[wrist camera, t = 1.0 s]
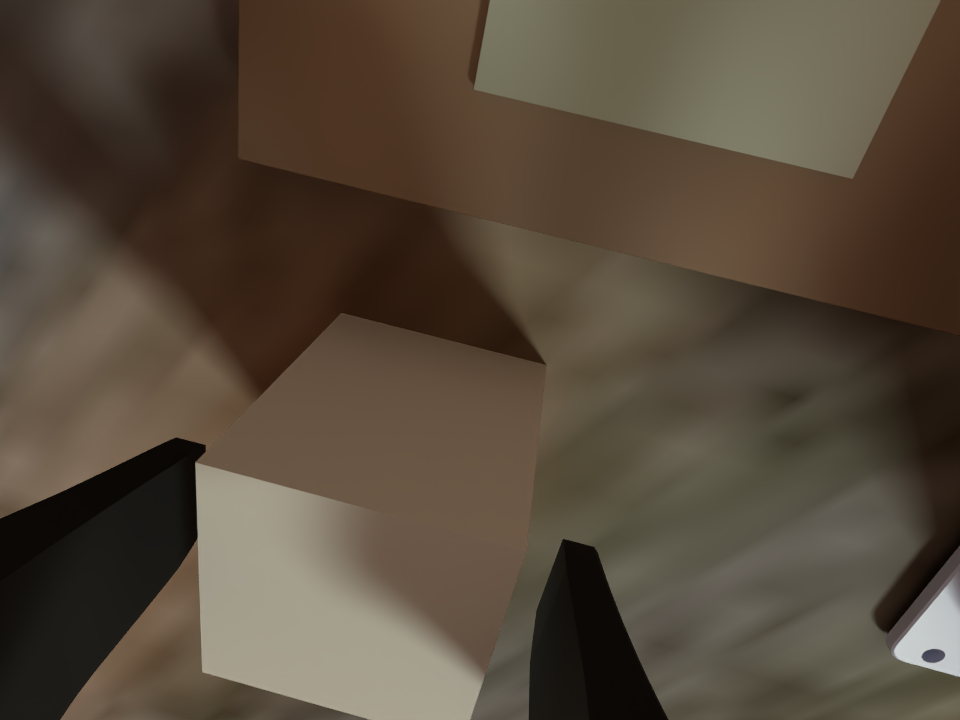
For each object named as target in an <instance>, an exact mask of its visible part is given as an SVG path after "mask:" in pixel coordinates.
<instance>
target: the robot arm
mask: <svg viewBox="0 0 960 720" xmlns="http://www.w3.org/2000/svg"><path fill="white" fill-rule="evenodd" d="M205 452H206V445H203V444H199V443H195V442H192V441H188V440H184V439H180V438H174V439H172V440H169V441H167V442H165V443H163V444H161V445H158V446H156V447H154V448H152V449H150V450H148V451H146V452H144V453H142V454H140V455H138V456H136V457H134V458H132V459H129V460H127V461H125V462H123V463H121V464H119V465H117V466H115V467H113V468H111V469H109V470H107V471H105V472H103V473H101V474H99V475H96V476H94V477H92V478H90V479H88V480H86V481H84V482H82V483H80V484H77V485H75V486H73V487H71V488H69V489H67V490H65V491H63V492H61V493H58V494H56V495H54V496H51V497H49V498H47V499H45V500H42V501H40V502H38V503H35V504H33V505H31V506H28V507H26V508H24V509H21V510H19V511H17V512H15V513H12V514H10V515H8V516H5V517H3V518H1V519H0V720H60V719H61V718H62V716H63V715H64V713H65V712H66V710H67V709H68V707H69V706H70V704H71V703H72V701H73V700H74V698H75V697H76V696H77V694H78V693H79V692H80V690H81V689H82V688H83V686H84V685H85V684H86V682H87V681H88V680H89V678H90V677H91V676H92V675H93V673H94V672H95V671H96V669H97V668H98V667H99V666H100V665H101V663H102V662H103V661H104V660H105V658H106V657H107V656H108V655H109V653H110V652H111V651H112V650H113V649H114V647H115V646H116V645H117V644H118V642H119V641H120V640H121V639H122V638H123V636H124V635H125V634H126V633H127V631H128V630H129V629H130V628H131V626H132V625H133V624H134V623H135V622H136V620H137V619H138V618H139V617H140V615H141V614H142V613H143V612H144V611H145V609H146V608H147V607H148V606H149V604H150V603H151V602H152V601H153V599H154V598H155V597H156V596H157V594H158V593H159V592H160V591H161V589H162V588H163V587H164V586H165V585H166V583H167V582H168V581H169V580H170V578H171V577H172V576H173V574H174V573H175V572H176V571H177V569H178V568H179V567H180V565H181V563H182V562H183V560H184V559H185V557H186V556H187V554H188V553H189V551H190V550H191V548H192V546H193V545H194V543H195V541H196V540H197V538H198V528H197V498H196V468H195V462H196V461H197V460H198V459H199V458H200V457H201V456H202V455H203V454H204V453H205ZM886 644H887V646H888V648H889V650H890V652H891V653H892V655H893V656H894V657H895V658H896V659H899V660H901V661H904V662H907V663H911V664H915V665H919V666H922V667H926V668H930V669H933V670H937V671H941V672H944V673H948V674H952V675H956V676H959V677H960V546H959V547H958V548H957V550H956V551H955V552H954V553H953V555H952V556H951V557H950V558H949V559H948V561H947V562H946V563H945V564H944V566H943V567H942V568H941V569H940V570H939V572H938V573H937V574H936V575H935V577H934V578H933V579H932V580H931V582H930V583H929V584H928V585H927V586H926V588H925V589H924V590H923V591H922V593H921V594H920V595H919V596H918V597H917V599H916V600H915V601H914V602H913V604H912V605H911V606H910V607H909V609H908V610H907V611H906V612H905V613H904V615H903V616H902V617H901V618H900V620H899V621H898V622H897V623H896V625H895V626H894V627H893V628H892V629H891V631H890V632H889V633H888V635H887V637H886ZM529 720H668V718H667V716H666V714H665V712H664V710H663V708H662V706H661V704H660V702H659V700H658V698H657V696H656V694H655V692H654V690H653V688H652V686H651V684H650V682H649V680H648V678H647V676H646V674H645V671H644V669H643V667H642V665H641V663H640V661H639V658H638V656H637V654H636V651H635V649H634V647H633V644H632V642H631V640H630V638H629V635H628V633H627V631H626V628H625V626H624V623H623V621H622V619H621V616H620V614H619V611H618V608H617V606H616V603H615V601H614V598H613V595H612V593H611V590H610V587H609V585H608V582H607V579H606V576H605V573H604V570H603V567H602V564H601V561H600V558H599V555H598V553H597V551H596V549H595V548H594V547H592V546H588V545H584V544H581V543H577V542H573V541H569V540H565V539H563V540H562V543H561V546H560V548H559V551H558V554H557V557H556V559H555V562H554V565H553V567H552V570H551V573H550V575H549V578H548V581H547V584H546V586H545V589H544V592H543V594H542V597H541V600H540V602H539V605H538V608H537V611H536V619H535V627H534V634H533V642H532V651H531V659H530V687H529Z"/></svg>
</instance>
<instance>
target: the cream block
mask: <svg viewBox="0 0 960 720" xmlns="http://www.w3.org/2000/svg"><path fill="white" fill-rule="evenodd" d="M545 374H546V365H545V364H541V363H537V362H533V361H529V360H525V359H521V358H517V357H513V356H509V355H505V354H502V353H498V352H494V351H490V350H486V349H482V348H478V347H474V346H470V345H466V344H462V343H458V342H454V341H450V340H447V339H443V338H439V337H435V336H431V335H427V334H423V333H419V332H415V331H411V330H407V329H403V328H399V327H396V326H392V325H388V324H384V323H380V322H376V321H372V320H368V319H364V318H360V317H356V316H352V315H348V314H344V313H341V314H340V315H339V316H338V317H337V318H336V319H335V320H334V321H333V322H332V323H331V324H330V325H329V326H328V327H327V328H326V329H325V330H324V331H323V332H322V333H321V334H320V335H319V336H318V337H317V338H316V339H315V340H314V341H313V343H312V344H311V345H310V346H309V347H308V348H307V349H306V350H305V351H304V352H303V353H302V354H301V355H300V356H299V357H298V358H297V359H296V360H295V361H294V362H293V363H292V364H291V365H290V366H289V367H288V368H287V369H286V370H285V371H284V372H283V373H282V374H281V375H280V376H279V377H278V378H277V379H276V380H275V381H274V382H273V383H272V385H271V386H270V387H269V388H268V389H267V390H266V391H265V392H264V393H263V394H262V395H261V396H260V397H259V398H258V399H257V400H256V401H255V402H254V403H253V404H252V405H251V406H250V407H249V408H248V409H247V410H246V411H245V412H244V413H243V414H242V415H241V416H240V417H239V418H238V419H237V420H236V421H235V422H234V423H233V424H232V425H231V427H230V428H229V429H228V430H227V431H226V432H225V433H224V434H223V435H222V436H221V437H220V438H219V439H218V440H217V441H216V442H215V443H214V444H213V445H212V446H211V447H210V448H209V449H208V450H207V451H206V452H205V453H204V454H203V455H202V456H201V457H200V458H199V459H198V460H197V461H196V462H195V468H196V498H197V528H198V558H199V589H200V619H201V649H202V672H204V673H208V674H211V675H215V676H218V677H222V678H225V679H229V680H232V681H236V682H239V683H243V684H246V685H250V686H253V687H257V688H261V689H264V690H268V691H271V692H275V693H278V694H282V695H285V696H289V697H292V698H296V699H299V700H303V701H306V702H310V703H313V704H317V705H321V706H324V707H328V708H331V709H335V710H338V711H342V712H345V713H349V714H352V715H356V716H359V717H363V718H366V719H370V720H470V718H471V715H472V712H473V709H474V706H475V703H476V701H477V698H478V695H479V692H480V689H481V686H482V683H483V680H484V677H485V674H486V671H487V668H488V665H489V662H490V659H491V656H492V653H493V650H494V647H495V644H496V641H497V638H498V635H499V632H500V629H501V626H502V623H503V620H504V617H505V614H506V611H507V608H508V605H509V602H510V599H511V596H512V593H513V590H514V587H515V584H516V581H517V578H518V575H519V572H520V569H521V566H522V563H523V560H524V557H525V554H526V551H527V542H528V532H529V523H530V514H531V504H532V495H533V486H534V477H535V467H536V458H537V449H538V439H539V430H540V421H541V411H542V402H543V393H544V384H545Z"/></svg>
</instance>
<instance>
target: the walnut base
mask: <svg viewBox="0 0 960 720" xmlns="http://www.w3.org/2000/svg"><path fill="white" fill-rule="evenodd" d="M238 159H241V160H246V161H250V162H254V163H258V164H262V165H266V166H270V167H274V168H278V169H282V170H286V171H290V172H294V173H299V174H303V175H307V176H311V177H315V178H319V179H323V180H327V181H331V182H335V183H339V184H343V185H347V186H352V187H356V188H360V189H364V190H368V191H372V192H376V193H380V194H384V195H388V196H392V197H396V198H401V199H405V200H409V201H413V202H417V203H421V204H425V205H429V206H433V207H437V208H441V209H445V210H449V211H454V212H458V213H462V214H466V215H470V216H474V217H478V218H482V219H486V220H490V221H494V222H498V223H502V224H507V225H511V226H515V227H519V228H523V229H527V230H531V231H535V232H539V233H543V234H547V235H551V236H556V237H560V238H564V239H568V240H572V241H576V242H580V243H584V244H588V245H592V246H596V247H600V248H604V249H609V250H613V251H617V252H621V253H625V254H629V255H633V256H637V257H641V258H645V259H649V260H653V261H658V262H662V263H666V264H670V265H674V266H678V267H682V268H686V269H690V270H694V271H698V272H702V273H706V274H711V275H715V276H719V277H723V278H727V279H731V280H735V281H739V282H743V283H747V284H751V285H755V286H759V287H764V288H768V289H772V290H776V291H780V292H784V293H788V294H792V295H796V296H800V297H804V298H808V299H813V300H817V301H821V302H825V303H829V304H833V305H837V306H841V307H845V308H849V309H853V310H857V311H861V312H866V313H870V314H874V315H878V316H882V317H886V318H890V319H894V320H898V321H902V322H906V323H910V324H914V325H919V326H923V327H927V328H931V329H935V330H939V331H943V332H947V333H951V334H955V335H959V336H960V0H239V76H238Z"/></svg>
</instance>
